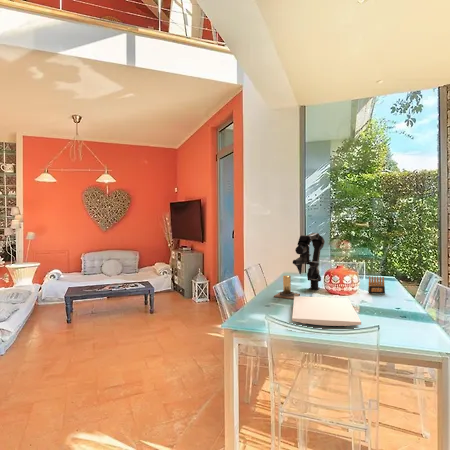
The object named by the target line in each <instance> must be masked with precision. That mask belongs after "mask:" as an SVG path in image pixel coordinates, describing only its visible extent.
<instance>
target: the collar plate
mask: <svg viewBox="0 0 450 450" xmlns="http://www.w3.org/2000/svg"><path fill="white" fill-rule="evenodd" d="M300 295H301V293H296V292H294V291H291V294H283V290H282V291H280V292H278V293H276V294H275V295H273V298H276V297H278V298H279V299H284V300H285V299H287V300H292V301H294V296H300Z"/></svg>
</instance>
